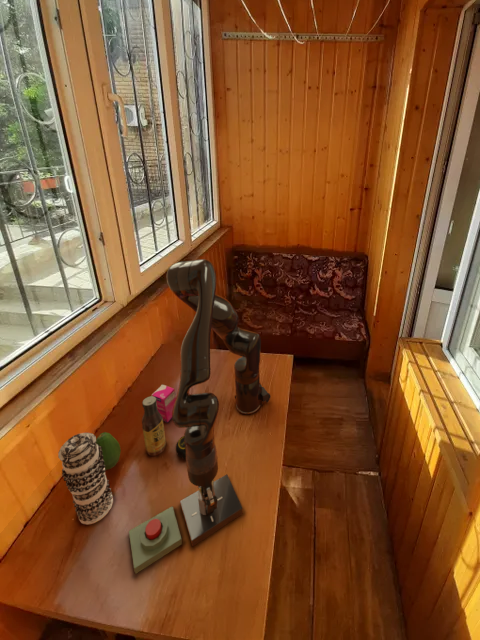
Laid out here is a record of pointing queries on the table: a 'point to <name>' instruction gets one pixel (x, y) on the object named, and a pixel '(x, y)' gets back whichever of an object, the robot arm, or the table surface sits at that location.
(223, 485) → the hob panel
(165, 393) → the supplement box
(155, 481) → the table surface
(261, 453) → the table surface
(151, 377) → the table surface
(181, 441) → the tape measure
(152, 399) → the sauce bottle
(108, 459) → the avocado
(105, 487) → the decorative candle
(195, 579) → the table surface
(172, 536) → the block
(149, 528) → the power button
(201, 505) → the stove knob
